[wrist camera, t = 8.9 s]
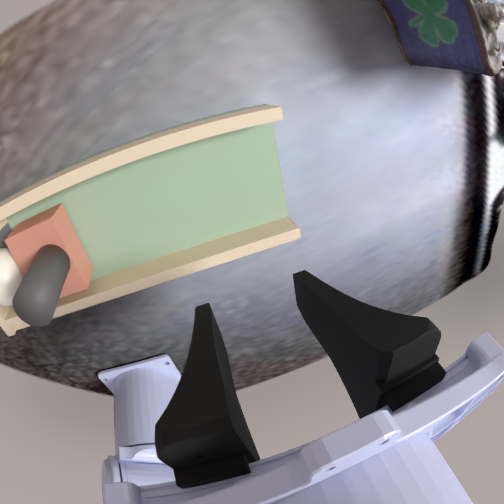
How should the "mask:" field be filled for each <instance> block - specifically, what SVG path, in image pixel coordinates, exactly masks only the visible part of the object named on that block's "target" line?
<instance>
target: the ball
mask: <svg viewBox="0 0 504 504" xmlns="http://www.w3.org/2000/svg"><path fill="white" fill-rule="evenodd" d="M23 277H24V275H23V273H22V272H21V270H20V268H19V266H18V265H17V263H16V261H15V259H14V258H13V256H12V254H11V252H10V250H9V248H0V305H4V306H11V305H13V303H12V301H13V297H14V295H15V293H16V291H17V289H18V287H19V285H20V283H21V281H22V279H23Z"/></svg>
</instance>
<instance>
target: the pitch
mask: <svg viewBox="0 0 504 504" xmlns="http://www.w3.org/2000/svg"><path fill="white" fill-rule="evenodd" d="M279 120H283V114H282V109H281V107H280V106H274V105H267V104H263V105H258V106H253V107H248V108H244V109H239V110H235V111H230V112H226V113H222V114H218V115H214V116H210V117H206V118H203V119H199V120H195V121H192V122H188V123H185V124H181V125H178V126H175V127H171V128H168V129H165V130H162V131H159V132H156V133H153V134H150V135H147V136H144V137H141V138H138V139H135V140H132V141H130V142H127V143H124V144H121V145H119V146H116V147H113V148H111V149H108V150H106V151H103V152H101V153H98V154H96V155H93V156H91V157H89V158H86V159H84V160H82V161H79V162H77V163H75V164H72V165H70V166H68V167H66V168H64V169H61V170H59V171H57V172H55V173H53V174H51V175H49V176H47V177H45V178H43V179H41V180H39V181H37V182H35V183H33V184H31V185H29V186H27V187H25V188H23V189H21V190H19V191H18V192H16V193H14V194H12V195H10V196H9V197H7V198H5V199H3V200H2V201H0V248H8V246H7V245H6V243H5V241H4V240H5V239H6V238H7V237H8V235H9V234H10V233H11V232H12V230H13V229H14V228H15V227H16V226H17V224H18V223H20V222H22V221H24V220H26V219H28V218H31V217H33V216H35V215H37V214H39V213H41V212H43V211H45V210H47V209H50V208H52V207H54V206H56V205H58V204H61V203H63V205H64V207H65V210H66V212H67V214H68V216H69V219H70V221H71V223H72V225H73V227H74V230H75V232H76V234H77V236H78V238H79V240H80V242H81V244H82V246H83V248H84V250H85V252H86V254H87V256H88V258H89V260H90V262H91V264H92V266H93V271H92V275H91V278H90V282H89V286H88V289H85V290H82V291H79V292H76V293H73V294H70V295H67V296H65V297H62V298H59V300H58V303H57V306H56V309H55V312H54V315H53V318H56V317H59V316H63V315H66V314H69V313H72V312H75V311H78V310H81V309H84V308H87V307H90V306H93V305H96V304H99V303H103V302H106V301H109V300H112V299H115V298H118V297H121V296H124V295H127V294H130V293H133V292H136V291H139V290H142V289H146V288H149V287H152V286H155V285H158V284H161V283H164V282H167V281H170V280H173V279H176V278H179V277H182V276H185V275H188V274H191V273H195V272H198V271H201V270H204V269H207V268H210V267H213V266H216V265H219V264H222V263H225V262H228V261H231V260H234V259H237V258H240V257H243V256H246V255H250V254H253V253H256V252H259V251H262V250H265V249H268V248H271V247H274V246H277V245H280V244H283V243H286V242H289V241H292V240H295V239H298V238H301V235H300V228H299V227H298V226H297V225H296V224H295V222H294V221H293V220H292V219H291V218H290V217H289V216H288V210H287V204H286V197H285V191H284V185H283V179H282V172H281V166H280V160H279V155H278V149H277V143H276V137H275V132H274V126H273V122H274V121H279ZM0 326H1V328H2V329H3V330H4V331H5V333H6V334H7V335H8V337H9V336H12V335H15V333H16V330H19V329H22V328H26V327H29V326H31V325H29V324H27V323H25V322H24V321H22V320H21V319H20V318H19V317H18V315H17V314H16V313H15V311H14V308H13V305H11V306H4V305H0Z"/></svg>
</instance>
